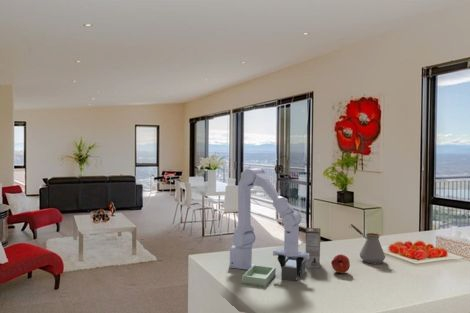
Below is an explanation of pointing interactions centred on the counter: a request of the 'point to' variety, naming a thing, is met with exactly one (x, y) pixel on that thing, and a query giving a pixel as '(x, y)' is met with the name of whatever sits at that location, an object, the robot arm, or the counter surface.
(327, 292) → the counter surface
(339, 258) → the fruit
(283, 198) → the robot arm
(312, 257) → the coffee box
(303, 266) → the printer bay
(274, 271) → the tray
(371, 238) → the coffee pot
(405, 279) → the counter surface
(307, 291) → the counter surface
